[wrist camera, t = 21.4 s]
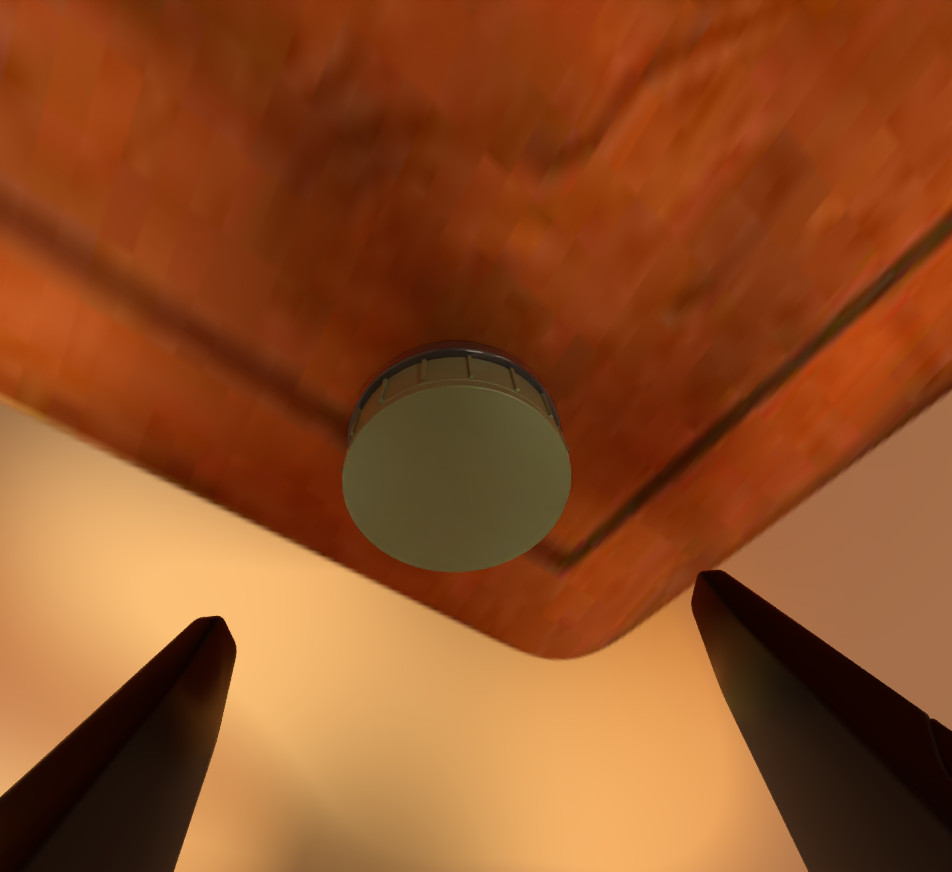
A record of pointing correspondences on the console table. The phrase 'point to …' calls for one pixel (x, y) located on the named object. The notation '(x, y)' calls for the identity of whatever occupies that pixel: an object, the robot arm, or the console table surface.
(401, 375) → the lid
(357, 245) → the console table surface
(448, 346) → the coaster
